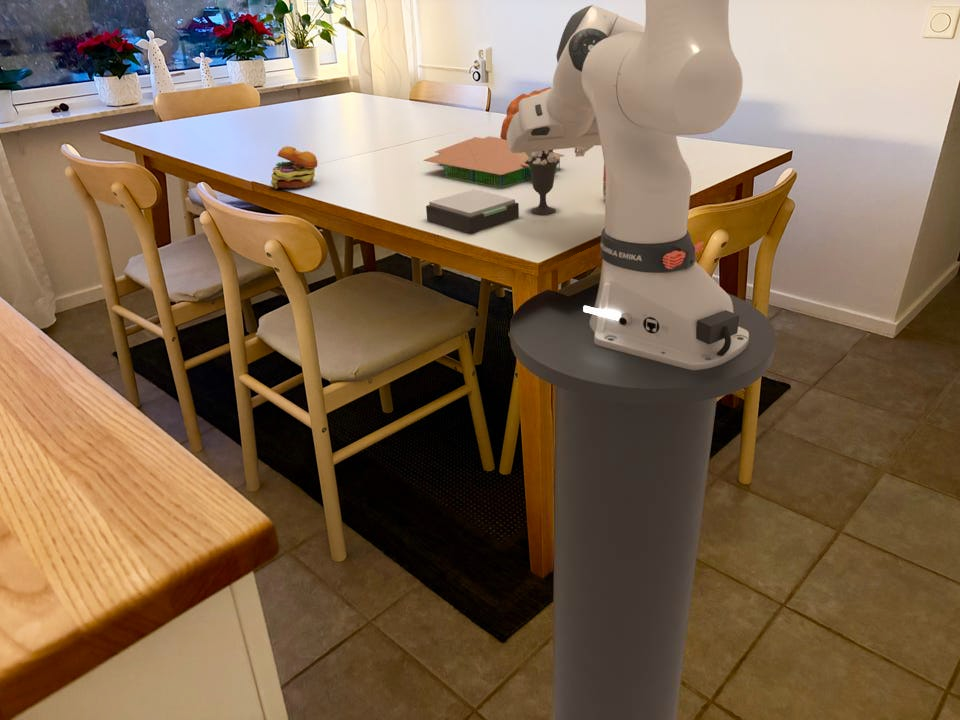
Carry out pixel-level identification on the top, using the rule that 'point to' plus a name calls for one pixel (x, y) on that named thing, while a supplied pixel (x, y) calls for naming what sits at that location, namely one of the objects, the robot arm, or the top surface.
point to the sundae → (543, 178)
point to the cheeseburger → (294, 169)
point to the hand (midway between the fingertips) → (555, 155)
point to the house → (484, 159)
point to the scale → (472, 210)
